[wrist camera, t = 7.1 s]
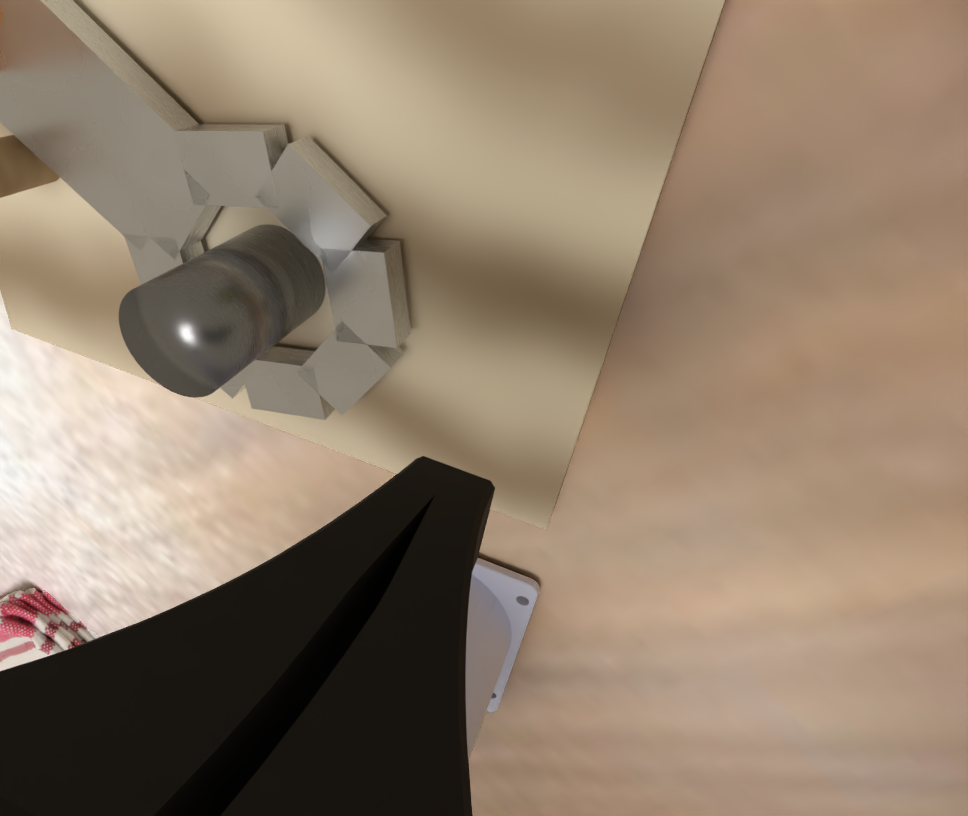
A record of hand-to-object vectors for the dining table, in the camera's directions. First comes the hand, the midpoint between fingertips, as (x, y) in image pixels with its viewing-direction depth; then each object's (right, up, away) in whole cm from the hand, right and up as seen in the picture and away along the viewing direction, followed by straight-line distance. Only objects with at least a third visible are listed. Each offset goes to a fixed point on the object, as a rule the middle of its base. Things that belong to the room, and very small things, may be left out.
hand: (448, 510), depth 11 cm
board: (-6, +9, +9) cm, 14 cm away
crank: (-9, +9, +9) cm, 15 cm away
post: (-6, +7, +10) cm, 14 cm away
